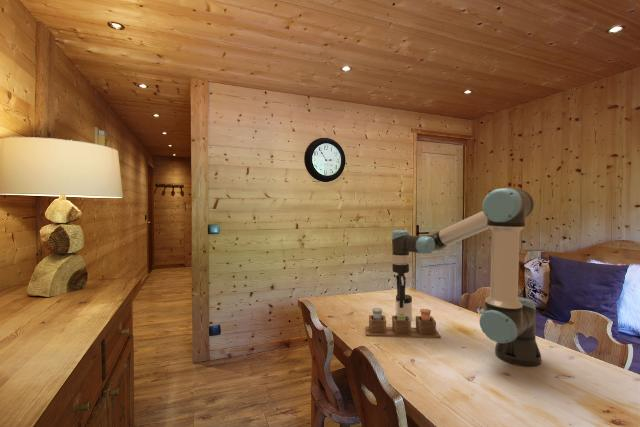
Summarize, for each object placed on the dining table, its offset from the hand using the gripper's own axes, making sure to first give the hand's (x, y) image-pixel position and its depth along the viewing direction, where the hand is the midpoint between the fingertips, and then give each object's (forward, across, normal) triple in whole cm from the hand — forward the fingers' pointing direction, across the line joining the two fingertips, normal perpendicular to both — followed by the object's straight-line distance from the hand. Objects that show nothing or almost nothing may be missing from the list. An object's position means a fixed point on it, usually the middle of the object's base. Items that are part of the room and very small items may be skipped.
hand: (401, 313), depth 148 cm
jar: (+9, +19, -4) cm, 21 cm away
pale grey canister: (+5, 0, +11) cm, 12 cm away
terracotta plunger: (+5, 0, -11) cm, 12 cm away
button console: (+9, 0, 0) cm, 9 cm away
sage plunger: (+7, 0, 0) cm, 7 cm away
